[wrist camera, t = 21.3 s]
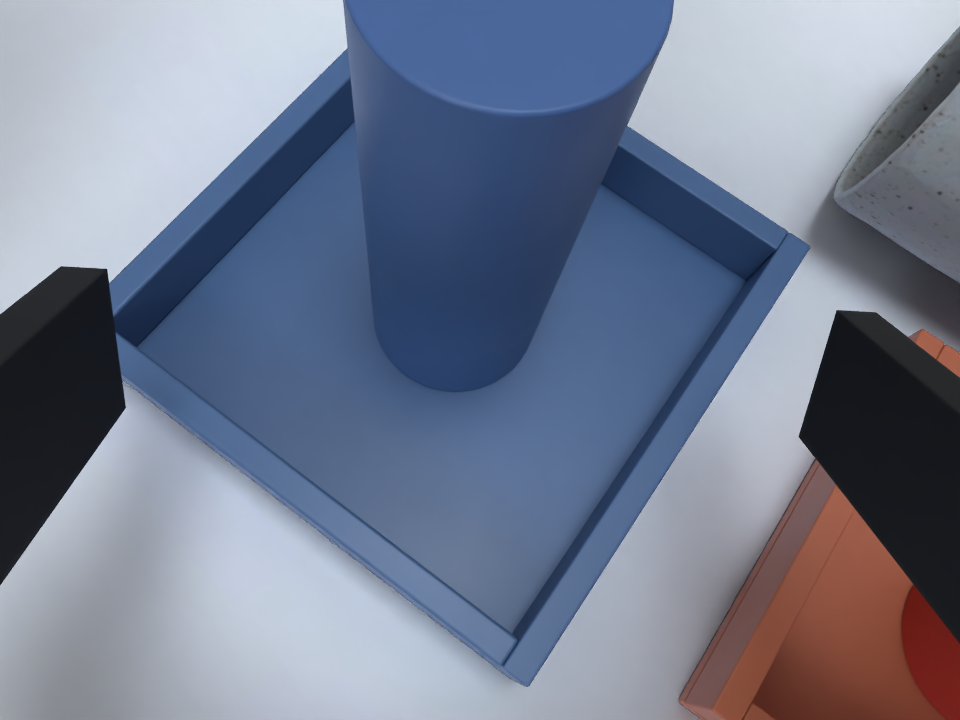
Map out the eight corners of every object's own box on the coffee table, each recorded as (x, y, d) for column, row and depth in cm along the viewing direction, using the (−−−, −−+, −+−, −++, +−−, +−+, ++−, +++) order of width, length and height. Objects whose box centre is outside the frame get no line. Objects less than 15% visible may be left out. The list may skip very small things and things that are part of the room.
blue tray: (769, 286, 24) (812, 245, 21) (512, 680, 19) (528, 688, 17) (410, 46, 25) (411, -17, 23) (101, 363, 21) (61, 328, 18)
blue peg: (564, 302, 22) (734, -41, 11) (472, 424, 21) (555, 178, 9) (438, 214, 23) (473, -202, 11) (340, 328, 21) (268, -15, 10)
